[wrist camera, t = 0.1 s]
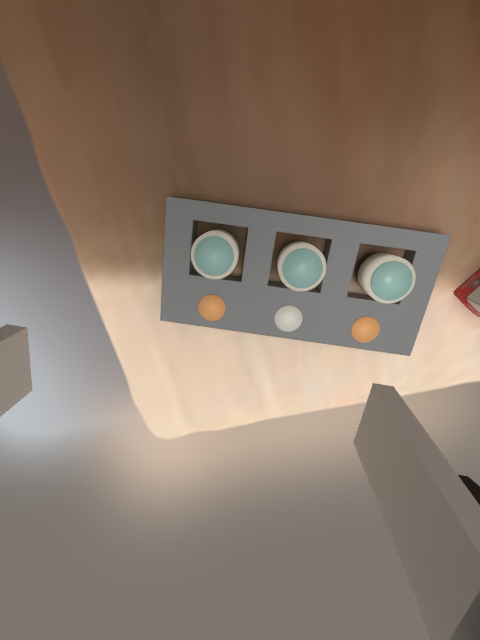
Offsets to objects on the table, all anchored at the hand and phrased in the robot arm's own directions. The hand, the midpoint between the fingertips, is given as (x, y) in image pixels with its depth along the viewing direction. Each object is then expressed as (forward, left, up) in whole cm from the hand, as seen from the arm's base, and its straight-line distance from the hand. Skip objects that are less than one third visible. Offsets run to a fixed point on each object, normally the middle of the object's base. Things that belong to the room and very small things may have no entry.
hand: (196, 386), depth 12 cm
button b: (-1, +7, -26) cm, 26 cm away
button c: (-1, +16, -26) cm, 30 cm away
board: (+1, +7, -28) cm, 29 cm away
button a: (-1, -2, -26) cm, 26 cm away
